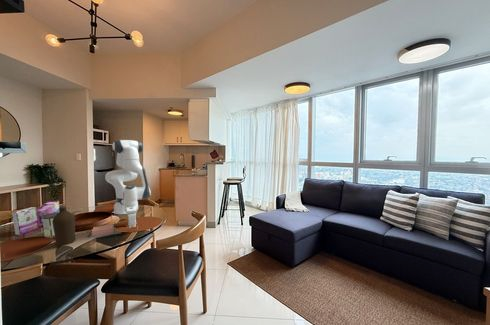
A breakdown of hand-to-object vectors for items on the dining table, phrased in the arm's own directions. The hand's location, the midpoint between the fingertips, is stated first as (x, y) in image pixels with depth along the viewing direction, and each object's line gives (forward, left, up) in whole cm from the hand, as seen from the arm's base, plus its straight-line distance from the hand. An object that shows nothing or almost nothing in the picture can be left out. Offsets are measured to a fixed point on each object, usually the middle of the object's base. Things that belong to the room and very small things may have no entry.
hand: (132, 225), depth 153 cm
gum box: (-48, -58, -3) cm, 76 cm away
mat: (0, -11, -2) cm, 11 cm away
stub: (0, 0, -2) cm, 2 cm away
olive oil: (+4, -37, -3) cm, 38 cm away
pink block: (0, -18, -2) cm, 18 cm away
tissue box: (-16, -48, -3) cm, 51 cm away
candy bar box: (-30, -66, -3) cm, 73 cm away
